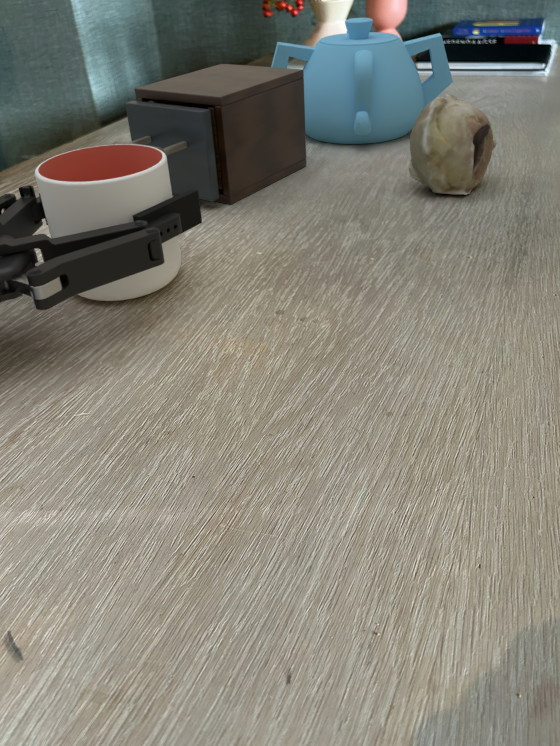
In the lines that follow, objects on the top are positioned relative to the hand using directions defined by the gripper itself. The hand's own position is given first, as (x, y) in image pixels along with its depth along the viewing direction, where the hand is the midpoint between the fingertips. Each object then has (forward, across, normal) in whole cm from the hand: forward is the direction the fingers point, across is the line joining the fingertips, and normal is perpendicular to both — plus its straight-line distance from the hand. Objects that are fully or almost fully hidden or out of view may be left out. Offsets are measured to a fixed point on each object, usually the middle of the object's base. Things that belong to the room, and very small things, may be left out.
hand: (148, 195), depth 57 cm
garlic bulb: (+30, +15, -6) cm, 34 cm away
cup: (-4, 0, -6) cm, 8 cm away
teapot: (+47, -6, -6) cm, 48 cm away
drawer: (+16, -9, -5) cm, 19 cm away
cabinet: (+22, -9, -6) cm, 24 cm away
